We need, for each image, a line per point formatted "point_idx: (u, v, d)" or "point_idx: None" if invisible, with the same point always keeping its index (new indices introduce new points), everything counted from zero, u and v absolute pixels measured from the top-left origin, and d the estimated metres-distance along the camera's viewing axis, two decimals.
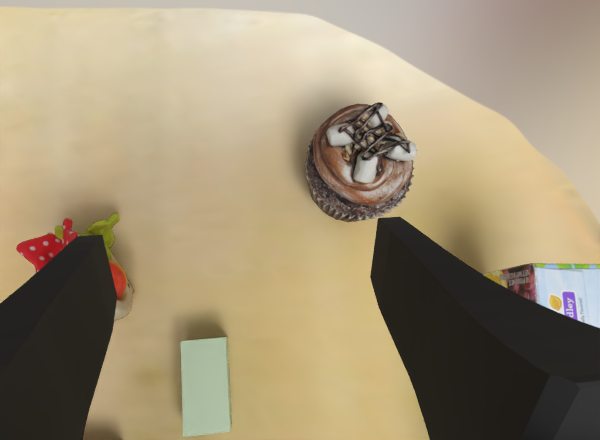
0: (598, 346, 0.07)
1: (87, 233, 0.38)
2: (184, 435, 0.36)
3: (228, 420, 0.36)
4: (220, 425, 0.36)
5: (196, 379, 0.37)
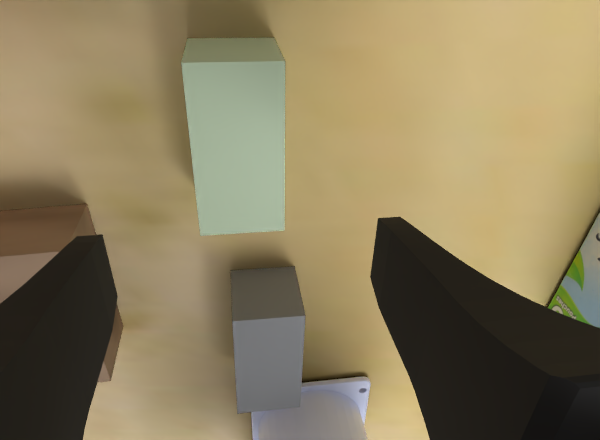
0: (598, 346, 0.07)
1: None
2: (202, 234, 0.20)
3: (282, 214, 0.20)
4: (267, 221, 0.20)
5: (221, 144, 0.18)
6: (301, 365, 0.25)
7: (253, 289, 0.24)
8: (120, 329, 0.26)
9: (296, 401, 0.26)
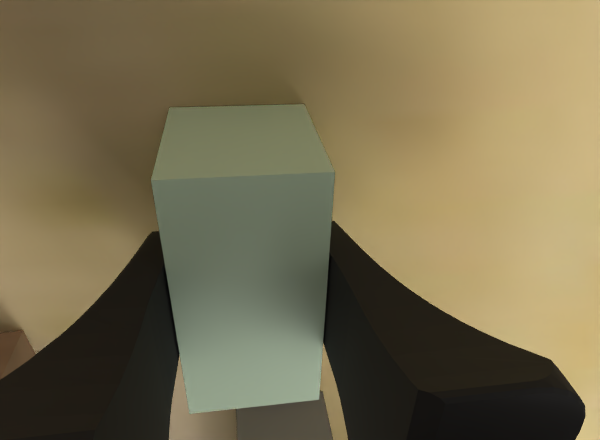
0: (484, 358, 0.07)
1: None
2: (192, 411, 0.13)
3: (317, 380, 0.13)
4: (294, 390, 0.13)
5: (223, 296, 0.11)
6: None
7: (267, 434, 0.18)
8: None
9: None
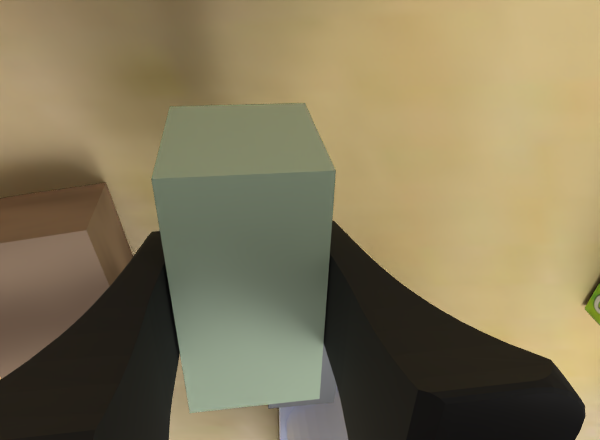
0: (484, 358, 0.07)
1: None
2: (193, 411, 0.13)
3: (317, 379, 0.13)
4: (294, 389, 0.13)
5: (223, 295, 0.11)
6: None
7: None
8: None
9: (330, 396, 0.25)
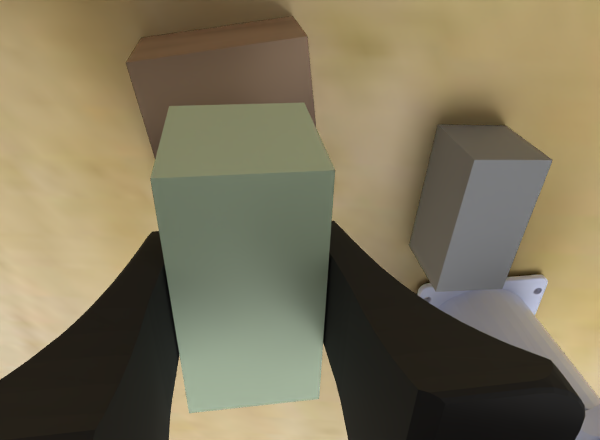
0: (484, 358, 0.07)
1: None
2: (192, 411, 0.13)
3: (317, 379, 0.13)
4: (294, 389, 0.13)
5: (222, 295, 0.11)
6: (523, 230, 0.22)
7: (475, 138, 0.21)
8: None
9: (501, 280, 0.23)
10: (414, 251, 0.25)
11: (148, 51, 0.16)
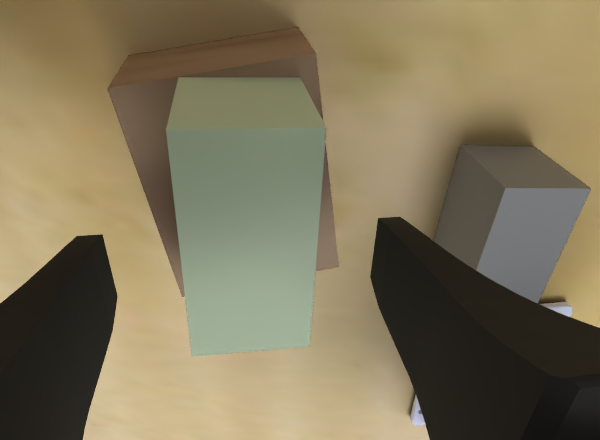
0: (598, 346, 0.07)
1: None
2: (194, 354, 0.14)
3: (308, 327, 0.14)
4: (287, 336, 0.14)
5: (225, 242, 0.12)
6: (554, 263, 0.20)
7: (503, 161, 0.19)
8: None
9: None
10: None
11: (134, 73, 0.14)
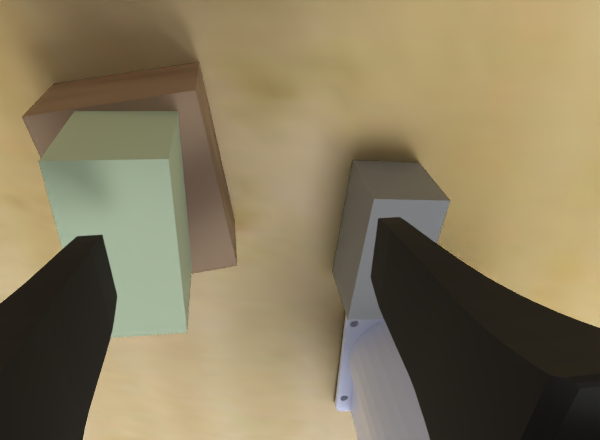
0: (598, 346, 0.07)
1: None
2: None
3: (182, 316, 0.17)
4: (166, 323, 0.17)
5: None
6: None
7: (383, 175, 0.22)
8: (233, 221, 0.24)
9: None
10: (335, 278, 0.26)
11: (49, 102, 0.17)
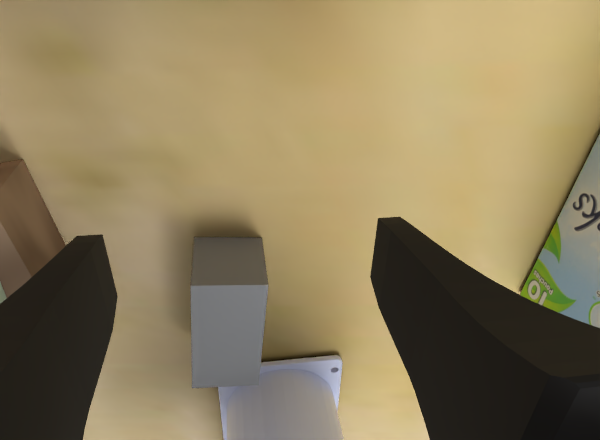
0: (598, 346, 0.07)
1: None
2: None
3: None
4: None
5: None
6: (261, 339, 0.24)
7: (216, 256, 0.23)
8: None
9: (254, 378, 0.25)
10: None
11: None
